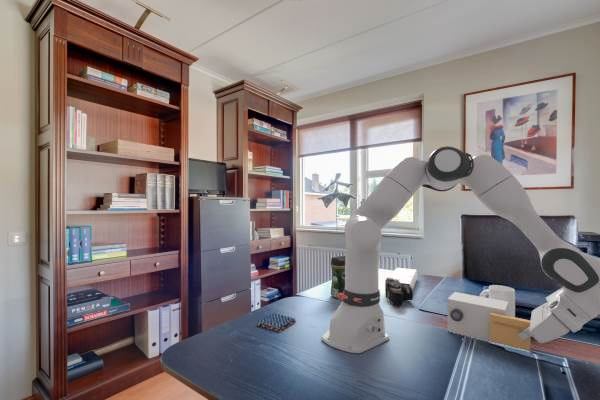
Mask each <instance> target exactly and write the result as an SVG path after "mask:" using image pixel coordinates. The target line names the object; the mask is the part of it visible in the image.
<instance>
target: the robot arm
mask: <svg viewBox="0 0 600 400" xmlns="http://www.w3.org/2000/svg"><path fill="white" fill-rule="evenodd" d="M458 184H460V185H462V186H465V187H467V188H468V189H469V190H471V192H473V194H474V195H475V196H476V198H477V199H478V200H479V201H480V203H482V204H483V206H485V207H486V208H487V210H489V211H491V212H492V213H493V214H494V215H495V216H499V217H501V218H503V219H506V220H508V222H511V223H512V224H514V225H515V226H516V228H518V229H519V230H520V231H521V232H522V233H523V234H524V235H525V237H526V238H527V239H528V240H529V241H530V242H531V244H533V246H534V248H536V250H537V252H538V257H539V261H540V265H541V266H540V267H541V269H542V272H543V273H544V274H545V275H546V276H547V277H548V278H550V279H551V280H553V281H555V282H556V283H558V284H559V285H560V286H562V287H561V288H559V289H557V290H555V291H554V292H553V293H551V294H549V295H548V296H546V297H545V300H546V301H547V302H545V303H543V304H541V305H540V306H538V307H536V308H534V309H533V310H531V316H530V327H528V328H527V329H525V330H522V331H521V332H519V334H518V336H519V337H520V338H521V339H522V340H525V339H526V338H528V337H530V338H534V339H535V340H536V342H538V343H539V344H545V343H548V342H549V343H550V342H551V341H553V340H556V339H558V338H560V337H563V336H565V335H567V334H568V333H570V331H571V332H572V333H576V332H579V331H580V330H581V329H583V326H584V325H585V324H586V323H588V322H590V321H592V320H593V319H595V318H596V317H598V315H599V314H600V257H597V256H593V255H591V254H588V253H585V252H584V251H583V250H582V249H581V248H579V246H577V245H575V244H574V243H572V242H570V241H568V240H566V239H564V238H562V237H560V236H559V235H558V234H557V233H556V232H554V230H553V229H552V228H551V227H550V226H549V225H548V224H547V222H546V221H544V220H543V218H541V216H539V214H538V212H537V211H536V209H535V208H534V206H533V204H532V202H531V198H530V197H529V196H530V195H529V194H528V193H527V192H526V190H525V188H524V187H523V185H522V184H521V183H520V181H519V180H518V178H516V176H515V175H514V174H513V173H511V172H510V170H508V168H507V167H505V165H503V164H502V163H501V162H499V161H498V160H496V159H495V158H494V157H492V156H491V155H489V154H487V153H486V154H483V153H482V154H476V155H474V156H472V155H471V154H470V153H468V152H465V151H462V150H461V149H460V148H457V147H453V146H448V145H447V146H442V147H439V148H437V149H436V150H434V151H433V152H432V153H431V154H430V155H429V156H428V159H427V160H422V159H419V158H418V157H415V156H411V155H409V156H408V155H407V156H404V157H402V158H401V159H400V160H399V161H397V163H396V164H395V165H393V166H392V168H390V170H389V171H388V172H387V173H386V174H385V176H384V177H383V178H382V179H381V181H379V183H378V184H377V185H376V186H375V188H374V189H373V190H372V192H371V193H370V194H369V195H368V196H367V197H366V199H365V200H363V202H362V203H361V204H360V205H359V207H358V208H357V209H356V210H355V211H354V212H353V213H352V214H351V215H350V217H349V218H348V219H347V220H346V222H345V225H344V229H343V230H344V235H345V256H346V259H345V288H344V291H343V294H342V293H339V295H338V298H337V299H338V300H341V302H340V304H339V306H337V307H338V308H337V309H336V310H335V312H334V313H333V315H332V316H331V319H330V322H329V329H328V330H327V331H325V332H324V334H323V335H322V336H321V340H322V342H323V343H324V344H327V345H329V347H333V348H335V349H337V350H340V351H343V352H347V353H353V354H361V353H364V352H366V351H368V350H370V349H372V348H374V347H376V346H378V345H381V344H383V343H384V342H387V341H388V340H389V339H390V338H389V337H390V336H389V334H388V333H387V332H386V330H385V329H386V328H385V315H384V311H383V309H382V307H381V305H380V302H381V291H380V289H379V269H380V268H379V266H380V265H379V263H380V257H381V247H382V230H383V229H384V228H385V227H386V226H387V224H389V222H391V221H392V220H393V219H394V218H395V217H397V216H398V214H399V213H400V212H401V211H402V210H403V208H404V207H405V206H406V205H407V203H408V202H409V201H410V200H411V198H412V197H413V196H414V194H415V193H416V192H418V191H417V190H419V189H420V188H421V187H423V188H427V189H429V190H433V191H437V192H448V191H451V190H452V189H454V188H455V187H456V186H457V185H458Z"/></svg>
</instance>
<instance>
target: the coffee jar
mask: <svg viewBox="0 0 600 400" xmlns="http://www.w3.org/2000/svg"><path fill="white" fill-rule="evenodd" d="M330 259H331V260H330V267H331V274H332V275H331V285H330V287H331V288H330V296H331V297H333V298H334V299H338V295H339V293H342V294H343V291H344V288H345V259H346V255H341V256H340V255H339V256H333V257H331V258H330Z"/></svg>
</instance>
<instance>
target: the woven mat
mask: <svg viewBox="0 0 600 400" xmlns="http://www.w3.org/2000/svg"><path fill="white" fill-rule="evenodd" d="M296 322H297V320H296V318H295V317H292V316H291V317H290V316H289V315H288V316H287V315H283V314H280V313H277V312H275V313H273V312H272V313H271V314H268V315H267V316H266V317H263V318H261V319H260V320H257V326H261V327H263V328H266V329H267V330H273V331H275V332H278V333H280V332H283V331H284V330H286V329H288V327H290V326H293V324H295V323H296Z"/></svg>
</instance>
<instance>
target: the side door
mask: <svg viewBox="0 0 600 400" xmlns="http://www.w3.org/2000/svg"><path fill="white" fill-rule="evenodd" d="M530 320H531V319H530ZM530 320H529V319H524V318H521V317H520V318H519V317H516V316H515V317H511V316H506V315H502V314H497V313H492V312H491V313H490V341H491V342H495V343H500V344H504V345H508V346H511V347H515V348H520V349H524V350H528V351H530V352H531V337H528V338H526V339H525V340H522V339H521V338H520V337H519V336H518V334H519V332H521V331H522V330H525V329H527V328H528V327H530Z"/></svg>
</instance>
